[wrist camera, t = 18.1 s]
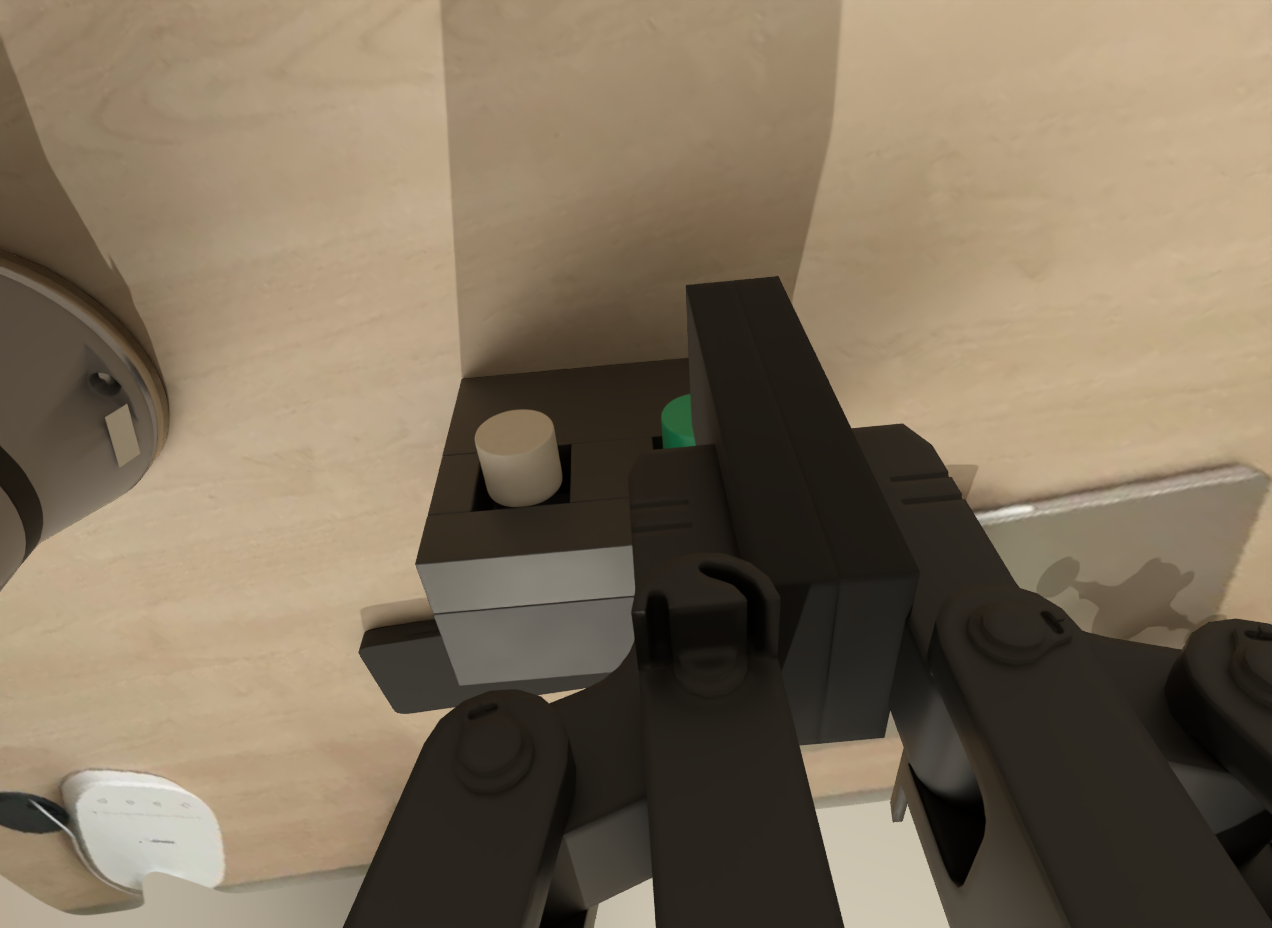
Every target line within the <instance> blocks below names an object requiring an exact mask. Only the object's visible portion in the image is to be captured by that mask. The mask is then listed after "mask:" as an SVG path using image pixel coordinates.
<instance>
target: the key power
mask: <svg viewBox="0 0 1272 928" xmlns="http://www.w3.org/2000/svg"><path fill="white" fill-rule="evenodd" d="M661 424H662V439H663V449H667V448H677V447H688V446H696V443H695V438H694V433H693V428H692V419H691V396H690V394H688V395H684V396H681V397H678V398H676V399H674V400H672V401H671V402H670V403H668V404H667V405H666V406H665V408H664V409H663V411H662V414H661Z"/></svg>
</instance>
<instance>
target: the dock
mask: <svg viewBox="0 0 1272 928" xmlns="http://www.w3.org/2000/svg"><path fill="white" fill-rule="evenodd" d="M688 394H690V373H689V358H685V359H674V360H663V361H652V362H641V363H631V364H620V365H609V366H598V367H587V368H576V369H565V370H555V371H544V372H533V373H522V374H511V375H500V376H489V377H478V378H468V379H462V380H461V384H460V388H459V392H458V396H457V400H456V404H455V408H454V412H453V416H452V420H451V424H450V428H449V432H448V436H447V440H446V444H445V448H444V451H443V457H442V461H441V465H440V469H439V473H438V477H437V481H436V485H435V488H434V492H433V496H432V500H431V504H430V508H429V512H428V516H427V519H426V523H425V527H424V531H423V535H422V539H421V543H420V547H419V551H418V555H417V559H416V563H415V565H416V568H417V570H418V573H419V576H420V579H421V581H422V584H423V587H424V590H425V592H426V595H427V598H428V601H429V603H430V606H431V609H432V612H433V613H434V617H435V620H436V623H437V625H438V628H439V631H440V634H441V636H442V639H443V642H444V645H445V647H446V650H447V653H448V656H449V658H450V661H451V664H452V667H453V669H454V672H455V675H456V678H457V680H458V683H459V685H460V686H462V685H473V684H484V683H495V682H507V681H518V680H529V679H540V678H552V677H563V676H574V675H585V674H597V673H608V672H613V671H614V670H615V669H617V668H618V667H619V666H620V664H621V663H622V662H623V660H624V659H625V658H626V656H627V655H628V654H629V652H630V650H631V647H632V645H633V642H634V640H635V639H634V632H633V624H632V616H631V610H632V605H633V600H634V594H635V580H634V565H633V551H632V536H631V521H630V505H629V491H628V475H629V473H630V471H631V469H632V467H633V465H634V463H635V462H636V460H637V458H638V456H639V454H640V452H641V451H646V450H656V449H663V439H662V424H661V414H662V411H663V409H664V408H665V406H666V405H667V404H668V403H670V402H671V401H672V400H674V399H676V398H678V397H681V396H684V395H688ZM522 409H523V410H534V411H538V412H541V413H543V414H545V415H546V416H548V417H549V418H550V420H551V421H552V423H553V425H554V430H555V436H556V442H557V447H558V453H559V459H560V464H561V470H562V477H563V479H562V483H561V486H560V488H559V489H558V491H557V492H556V493H555V494H554V495H553V496H551V497H550V498H549V499H547V500H545V501H543V502H541V503H539V504H536V505H533V506H528V507H508V506H504V505H501V504H499V503H497V502H495V501H494V500H493V499H492V498H491V497H490V495H489V494H488V491H487V487H486V483H485V479H484V475H483V471H482V468H481V464H480V460H479V456H478V452H477V448H476V444H475V434H476V431H477V429H478V428H479V427H480V426H481V425H482V424H483V423H484V422H485V421H486V420H488V419H489V418H491V417H493V416H495V415H497V414H500V413H503V412H507V411H512V410H522Z"/></svg>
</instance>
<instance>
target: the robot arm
mask: <svg viewBox="0 0 1272 928" xmlns="http://www.w3.org/2000/svg"><path fill="white" fill-rule="evenodd" d="M686 303H687V326H688V349H689V373H690V396H691V419H692V428H693V433H694V438H695V443H696V446H688V447H677V448H667V449H656V450H646V451H641V452H640V454H639V456H638V458H637V460H636V462H635V463H634V465H633V467H632V469H631V471H630V473H629V475H628V491H629V505H630V521H631V536H632V551H633V565H634V580H635V594H634V600H633V605H632V610H631V616H632V624H633V632H634V639H635V640H634V642H633V645H632V647H631V650H630V652H629V654H628V655H627V656H626V658H625V659H624V660H623V662H622V663H621V664H620V666H619V667H618V668H617V669H615V670H614V671H613V672H612V673H611V674H609V675H608V676H607V677H606V678H605V679H603V680H601V681H600V682H598V683H596V684H594V685H592V686H590V687H588V688H586V689H584V690H582V691H579V692H577V693H574V694H572V695H569V696H567V697H564V698H562V699H559V700H557V701H554V702H552V703H548V702H547V701H545V700H544V699H543V698H542V697H541V696H537V695H534V694H531V693H528V692H525V691H521V690H518V689H510V690H493V691H488V692H485V693H483V694H480V695H478V696H475V697H473V698H470V699H467V700H465V701H463V702H462V703H460V704H459V705H458V706H457V707H455V708H454V709H453V710H451V711H450V712H449V713H448V714H446V715H445V716H444V717H443V718H441V719H440V721H439V722H438V724H437V725H436V727H435V728H434V730H433V731H432V733H431V734H430V736H429V737H428V739H427V740H426V742H425V743H424V745H423V747H422V750H421V752H420V754H419V756H418V759H417V761H416V763H415V765H414V768H413V770H412V772H411V775H410V777H409V779H408V781H407V784H406V786H405V788H404V790H403V793H402V795H401V797H400V799H399V802H398V804H397V806H396V808H395V811H394V813H393V815H392V817H391V820H390V822H389V824H388V826H387V829H386V831H385V833H384V836H383V838H382V840H381V842H380V845H379V847H378V849H377V851H376V854H375V856H374V858H373V860H372V863H371V865H370V867H369V869H368V872H367V874H366V876H365V878H364V881H363V883H362V885H361V888H360V890H359V892H358V894H357V897H356V899H355V901H354V904H353V906H352V908H351V910H350V912H349V915H348V917H347V919H346V921H345V924H344V926H343V928H594V923H595V919H596V914H597V909H598V904H599V903H601V902H603V901H605V900H607V899H609V898H611V897H613V896H615V895H617V894H619V893H621V892H623V891H625V890H628V889H630V888H632V887H634V886H636V885H638V884H640V883H642V882H644V881H646V880H648V879H650V878H652V877H653V892H654V906H655V921H656V928H844V924H843V920H842V916H841V912H840V908H839V904H838V900H837V896H836V892H835V888H834V884H833V880H832V875H831V871H830V868H829V863H828V859H827V855H826V851H825V847H824V844H823V839H822V835H821V831H820V827H819V823H818V819H817V815H816V811H815V807H814V803H813V799H812V795H811V791H810V787H809V783H808V779H807V774H806V770H805V766H804V762H803V758H802V754H801V750H800V746H799V745H810V744H821V743H832V742H843V741H854V740H864V739H875V738H884V737H885V732H886V727H887V723H888V718H889V714H890V711H891V713H892V716H893V719H894V721H895V724H896V727H897V730H898V732H899V735H900V738H901V741H902V743H903V746H904V749H903V753H902V757H901V761H900V765H899V769H898V773H897V777H896V781H895V785H894V789H893V793H892V797H891V801H890V804H891V812H892V821H893V822H902V821H903V818H904V814H905V811H906V807H907V804H908V807H909V809H910V813H911V815H912V818H913V821H914V824H915V827H916V830H917V833H918V836H919V839H920V842H921V844H922V847H923V850H924V853H925V856H926V859H927V862H928V865H929V868H930V871H931V874H932V877H933V879H934V882H935V885H936V888H937V891H938V894H939V897H940V900H941V903H942V906H943V909H944V912H945V915H946V917H947V920H948V923H949V926H950V928H1272V625H1271V624H1268V623H1261V622H1255V621H1248V620H1242V619H1229V620H1221V621H1214V622H1208V623H1207V624H1205V625H1204V626H1202V627H1201V628H1199V629H1198V630H1196V631H1195V632H1193V633H1191V635H1190V637H1189V638H1188V640H1187V642H1186V644H1185V645H1184V647H1183V649H1182V650H1181V649H1175V648H1168V647H1162V646H1156V645H1150V644H1144V643H1138V642H1132V641H1126V640H1120V639H1113V638H1108V637H1104V636H1100V635H1096V634H1092V633H1088V632H1085V631H1082V630H1081V629H1080V628H1079V627H1078V625H1077V624H1076V623H1075V622H1074V621H1073V620H1072V619H1071V618H1070V617H1069V616H1068V615H1067V614H1066V613H1065V611H1064V610H1063V609H1062V608H1060V607H1058V606H1057V605H1055V604H1053V603H1052V602H1050V601H1048V600H1047V599H1045V598H1044V597H1042V596H1040V595H1039V594H1037V593H1034V592H1031V591H1028V590H1024V589H1021V588H1019V586H1018V585H1017V584H1016V582H1015V581H1014V579H1013V577H1012V576H1011V574H1010V572H1009V571H1008V569H1007V567H1006V566H1005V564H1004V563H1003V561H1002V559H1001V558H1000V556H999V554H998V553H997V551H996V549H995V548H994V546H993V544H992V543H991V541H990V540H989V538H988V536H987V535H986V533H985V531H984V530H983V528H982V526H981V525H980V523H979V521H978V520H977V518H976V516H975V515H974V513H973V512H972V510H971V508H970V507H969V505H968V503H967V502H966V500H965V499H964V500H962V493H961V492H960V490H959V489H958V487H957V485H956V484H955V482H954V480H953V479H952V477H949V476H948V470H947V469H946V467H945V465H944V464H943V462H942V461H941V459H940V457H939V456H938V454H937V452H936V451H935V449H934V447H933V446H932V445H931V444H930V443H929V442H927V441H926V440H925V439H923V438H922V437H920V436H919V435H918V434H916V433H915V432H914V431H912V430H911V429H909V428H908V427H907V426H905V425H904V424H892V425H882V426H871V427H861V428H851V427H850V425H849V423H848V420H847V418H846V416H845V414H844V412H843V410H842V408H841V406H840V404H839V402H838V400H837V398H836V395H835V393H834V391H833V389H832V387H831V385H830V383H829V381H828V379H827V377H826V375H825V372H824V370H823V368H822V366H821V364H820V362H819V360H818V358H817V356H816V354H815V352H814V350H813V347H812V345H811V343H810V341H809V339H808V337H807V335H806V333H805V331H804V329H803V327H802V325H801V322H800V320H799V318H798V316H797V314H796V312H795V310H794V308H793V306H792V304H791V302H790V300H789V297H788V295H787V293H786V291H785V289H784V287H783V285H782V283H781V281H780V279H779V277H778V276H776V277H766V278H755V279H745V280H735V281H724V282H714V283H704V284H694V285H686ZM168 427H169V411H168V403H167V399H166V394H165V391H164V388H163V385H162V382H161V380H160V378H159V376H158V374H157V371H156V369H155V367H154V366H153V364H152V362H151V361H150V359H149V357H148V356H147V354H146V353H145V351H144V350H143V349H142V347H141V346H140V344H139V343H138V342H137V341H136V339H135V338H134V337H133V336H132V335H131V333H130V332H129V331H128V330H127V329H126V328H125V327H124V326H123V325H122V324H121V323H120V322H119V321H118V320H117V319H116V318H115V317H114V316H113V315H112V314H111V313H110V312H109V311H108V310H106V309H105V308H104V307H103V306H102V305H101V304H99V303H98V302H97V301H95V300H94V299H93V298H92V297H90V296H89V295H88V294H86V293H85V292H83V291H82V290H80V289H79V288H78V287H76V286H75V285H73V284H71V283H70V282H68V281H66V280H65V279H63V278H61V277H60V276H58V275H56V274H55V273H53V272H51V271H49V270H47V269H45V268H43V267H41V266H39V265H37V264H35V263H32V262H30V261H28V260H26V259H23V258H21V257H18V256H15V255H13V254H10V253H7V252H5V251H1V250H0V591H1V590H2V589H3V587H4V586H5V585H6V584H7V582H8V581H9V580H10V579H11V577H12V576H13V575H14V574H15V572H16V571H17V569H18V568H19V567H20V565H21V564H22V563H23V562H24V561H25V559H26V558H27V557H28V556H29V555H30V554H31V552H32V551H33V550H34V549H35V548H36V547H37V545H38V544H39V543H41V542H43V541H44V540H46V539H48V538H50V537H51V536H53V535H55V534H57V533H58V532H60V531H62V530H63V529H65V528H67V527H69V526H70V525H72V524H74V523H76V522H77V521H79V520H81V519H82V518H84V517H86V516H88V515H89V514H91V513H93V512H95V511H96V510H98V509H100V508H102V507H103V506H105V505H107V504H109V503H110V502H112V501H114V500H115V499H117V498H119V497H120V496H122V495H123V494H125V493H126V492H128V491H129V490H130V489H132V488H133V487H134V486H135V485H136V484H137V483H138V482H139V481H140V480H141V478H142V477H143V476H144V474H145V473H146V472H147V470H148V469H149V468H150V466H151V465H152V464H153V462H154V461H155V460H156V458H157V457H158V455H159V454H160V452H161V450H162V448H163V446H164V444H165V441H166V438H167V433H168Z"/></svg>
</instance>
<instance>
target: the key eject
mask: <svg viewBox="0 0 1272 928" xmlns="http://www.w3.org/2000/svg"><path fill="white" fill-rule="evenodd" d="M475 444H476V448H477V452H478V456H479V460H480V464H481V468H482V471H483V475H484V479H485V483H486V487H487V491H488V494H489V495H490V497H491V498H492V499H493V500H494V501H495V502H497V503H499V504H501V505H504V506H508V507H528V506H533V505H536V504H539V503H541V502H543V501H545V500H547V499H549V498H550V497H551V496H553V495H554V494H555V493H556V492H557V491H558V489H559V488H560V486H561V483H562V479H563V477H562V470H561V464H560V459H559V453H558V447H557V442H556V436H555V430H554V425H553V423H552V421H551V420H550V418H549V417H548V416H546V415H545V414H543V413H541V412H538V411H534V410H523V409H522V410H512V411H507V412H503V413H500V414H497V415H495V416H493V417H491V418H489V419H488V420H486V421H485V422H484V423H483V424H482V425H481V426H480V427H479V428H478V429H477V431H476V434H475Z"/></svg>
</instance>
